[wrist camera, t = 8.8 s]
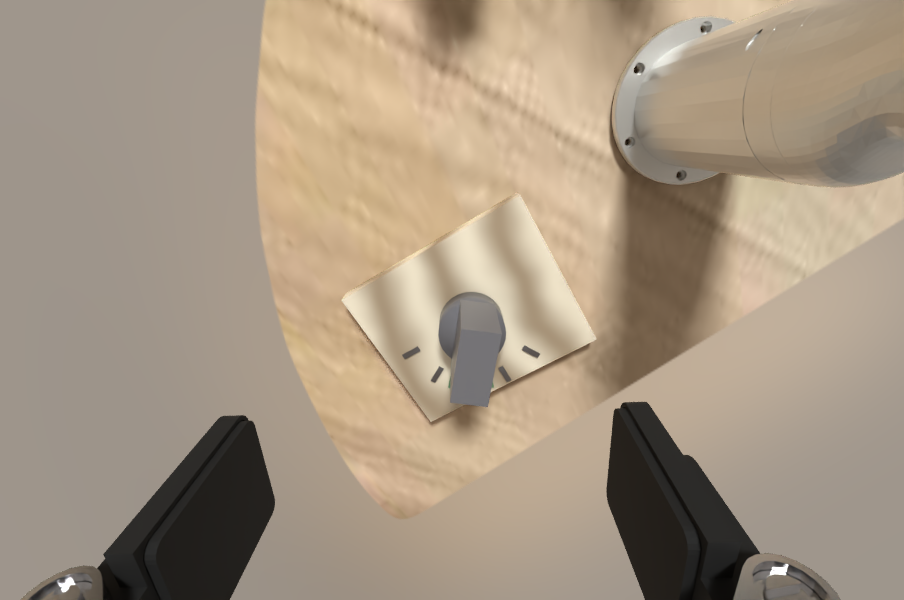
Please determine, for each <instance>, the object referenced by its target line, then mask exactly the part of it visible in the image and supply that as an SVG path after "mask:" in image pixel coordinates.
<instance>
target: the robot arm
mask: <svg viewBox="0 0 904 600" xmlns="http://www.w3.org/2000/svg"><path fill="white" fill-rule="evenodd" d="M701 27H702V28H703V32H701V29H700V28H701ZM634 67H637V68H638V71H637V73H634ZM612 128H613V134H614V138H615V141H616V144H617V146H618V149H619V151H620V153H621V154H622V156H623V157H624V159H625V160H626V162H627V163H628V164H629V165H630V166H631V167H632V168H633V169H634V170H635V171H637V172H638V173H640V174H641V175H643V176H645V177H646V178H649V179H652V180H654V181H657V182H661V183H666V184H674V185H684V184H690V183H697V182H700V181H702V180H705V179H708V178H711V177H713V176H715V175H717V174H718V173H727V174H733V175H740V176H747V177H754V178H760V179H767V180H774V181H780V182H787V183H794V184H804V185H811V186H818V187H833V188H837V187H853V186H860V185H865V184H869V183H873V182H877V181H881V180H884V179H887V178H890V177H893V176H896V175H898V174H901V173H903V172H904V0H792V1H789V2H786V3H784V4H781V5H779V6H776V7H774V8H771V9H769V10H766V11H764V12H761V13H759V14H756V15H754V16H751V17H748V18H746V19H743V20H741V21H738V22H735V21H732V20H730V19H727V18H722V17H715V16H704V17H694V18H691V19H687V20H684V21H680V22H678V23H676V24H674V25H672V26H669V27H667V28H666V29H664V30H663V31H661V32H659V33H658V34H656V35H655V36H653V37H652V38H651V39H650V40H648V41H647V42H646V43H645V44H644V45H643V46H642V47H641V48H640V49H639V50H638V51H637V52H636V54H635V55H634V56H633V57H632V59H631V60H630V61H629V63H628V65H627V66H626V68H625V70H624V72H623V73H622V75H621V77H620V80H619V83H618V85H617V88H616V91H615V95H614V100H613V105H612ZM626 139H628V140H629V143H628V145H625V140H626ZM678 172H679V176H678V177H676V175H677V173H678ZM607 500H608V504H609V507H610V510H611V512H612V515H613V517H614V520H615V522H616V525H617V528H618V530H619V533H620V536H621V538H622V540H623V543H624V546H625V549H626V551H627V554H628V556H629V559H630V562H631V564H632V567H633V569H634V572H635V575H636V577H637V580H638V582H639V585H640V587H641V590H642V593H643V595H644V598H645V600H840V598H839V596H838V594H837V593H836V592H835V591H834V589H833V588H832V587H831V586H830V585H829V584H828V583H827V582H826V581H825V580H824V579H823V578H822V577H820V576H819V575H818V574H817V573H815V572H814V571H813V570H812V569H810V568H808V567H806V566H805V565H803V564H801V563H799V562H797V561H795V560H792V559H790V558H787V557H784V556H782V555H776V554H769V553H764V554H760V553H759V551H758V550H757V548H756V547H755V545H754V544H753V542H752V541H751V540H750V538H749V537H748V535H747V534H746V532H745V531H744V529H743V528H742V527H741V525H740V524H739V522H738V521H737V519H736V518H735V516H734V515H733V514H732V512H731V511H730V509H729V508H728V506H727V505H726V504H725V502H724V501H723V499H722V498H721V496H720V495H719V494H718V492H717V491H716V489H715V488H714V486H713V485H712V484H711V482H710V481H709V479H708V478H707V477H706V475H705V473H704V472H703V471H702V469H701V468H700V466H699V465H698V463H697V462H696V461H695V460H694V459H693V458H692V457H691V456H689V455H683V454H682V453H681V451H680V450H679V449H678V447H677V445H676V444H675V443H674V441H673V440H672V438H671V436H670V435H669V433H668V432H667V430H666V429H665V428H664V426H663V425H662V423H661V422H660V420H659V419H658V417H657V416H656V415H655V413H654V411H653V410H652V408H651V407H650V405H649V404H648V403H647V402H625V403H622V405H621V408H620V409H615V410H614V416H613V426H612V436H611V448H610V458H609V469H608V480H607ZM274 506H275V499H274V494H273V491H272V487H271V483H270V479H269V476H268V472H267V468H266V465H265V461H264V458H263V454H262V450H261V446H260V443H259V439H258V436H257V432H256V428H255V425H254V423H253V422H252V421H249V420H248V418H247V417H246V416H243V415H241V416H222V417H220V418H219V419H218V420H217V421H216V422H215V423H214V424H213V426H212V427H211V428H210V429H209V430H208V432H207V433H206V434H205V435H204V436H203V437H202V439H201V440H200V441H199V442H198V443H197V445H196V446H195V447H194V448H193V449H192V450H191V452H190V453H189V454H188V455H187V456H186V457H185V459H184V460H183V461H182V462H181V463H180V465H179V466H178V467H177V468H176V469H175V470H174V472H173V473H172V474H171V475H170V477H169V478H168V479H167V480H166V481H165V482H164V483H163V485H162V486H161V487H160V488H159V489H158V491H157V492H156V493H155V494H154V495H153V496H152V498H151V499H150V500H149V501H148V502H147V504H146V505H145V506H144V507H143V508H142V509H141V511H140V512H139V513H138V514H137V515H136V517H135V518H134V519H133V520H132V521H131V523H130V524H129V525H128V526H127V527H126V528H125V529H124V531H123V532H122V533H121V534H120V535H119V537H118V538H117V539H116V540H115V541H114V543H113V544H112V545H111V546H110V547H109V548H108V550H107V551H106V552H105V553H104V557H105V560H104V561H103V562H102V563H101V565H100V566H99V567H98V568H95V567H93V566H79V567H74V568H70V569H67V570H65V571H62V572H60V573H57V574H56V575H53V576H52V577H50V578H48V579H46V580H45V581H43V582H41V583H40V584H39V585H37V586H36V587H35V588H33V589H32V590H31V591H29V592H28V593H27V594H26V595H25V596H24V597H23V598H22V599H21V600H230V598H231V596H232V594H233V592H234V590H235V588H236V586H237V584H238V582H239V580H240V578H241V576H242V574H243V572H244V570H245V568H246V566H247V564H248V562H249V560H250V558H251V556H252V554H253V552H254V550H255V548H256V546H257V544H258V542H259V540H260V538H261V536H262V534H263V532H264V530H265V528H266V526H267V523H268V522H269V520H270V518H271V516H272V513H273V511H274Z"/></svg>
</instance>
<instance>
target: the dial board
mask: <svg viewBox="0 0 904 600" xmlns="http://www.w3.org/2000/svg"><path fill="white" fill-rule="evenodd" d="M465 292H478V293H482V294H485V295H487V296H489V297H490V298H492V299H493V300H494V301H495V302H496V303H497V305H498V306H499V308H500V310H501V313H502V316H503V320H504V324H505V328H506V340H505V343H504V346H503V348H502V349H501V351H500V352H499V353H498V357H497V362H496V367H495V372H494V377H493V383H492V388H491V392H492V391H494V390H496V389H498V388H500V387H502V386H504V385H506V384H508V383H510V382H512V381H514V380H516V379H518V378H520V377H522V376H524V375H526V374H528V373H530V372H532V371H534V370H536V369H538V368H540V367H542V366H544V365H546V364H548V363H550V362H552V361H554V360H557V359H559V358H561V357H563V356H565V355H567V354H569V353H571V352H573V351H575V350H577V349H579V348H581V347H583V346H585V345H587V344H589V343H591V342H593V341H595V340H597V339H596V337H595V335H594V333H593V331H592V329H591V328H590V326H589V324H588V322H587V320H586V318H585V316H584V314H583V312H582V311H581V309H580V307H579V305H578V303H577V301H576V299H575V297H574V296H573V294H572V292H571V290H570V288H569V286H568V284H567V282H566V280H565V279H564V277H563V275H562V273H561V271H560V269H559V267H558V265H557V263H556V262H555V260H554V258H553V256H552V254H551V252H550V250H549V248H548V247H547V245H546V243H545V241H544V239H543V237H542V235H541V233H540V231H539V230H538V228H537V226H536V224H535V222H534V220H533V218H532V216H531V215H530V213H529V211H528V209H527V207H526V205H525V203H524V201H523V199H522V198H521V196H520V194H518V193H515V194H513V195H512V196H510V197H508V198H507V199H505V200H503V201H502V202H500V203H498V204H497V205H495V206H493V207H491V208H490V209H488V210H486V211H485V212H483V213H481V214H480V215H478V216H476V217H474V218H473V219H471V220H469V221H468V222H466V223H464V224H463V225H461V226H459V227H458V228H456V229H454V230H452V231H451V232H449V233H447V234H446V235H444V236H442V237H441V238H439V239H437V240H436V241H434V242H432V243H430V244H429V245H427V246H425V247H424V248H422V249H420V250H419V251H417V252H415V253H413V254H412V255H410V256H408V257H407V258H405V259H403V260H402V261H400V262H398V263H397V264H395V265H393V266H391V267H390V268H388V269H386V270H385V271H383V272H381V273H380V274H378V275H376V276H374V277H373V278H371V279H369V280H368V281H366V282H364V283H363V284H361V285H359V286H358V287H356V288H354V289H352V290H351V291H349V292H347V293H346V294H345V296H344V297H343V299H342V302H343V303H344V305H345V306H346V307H347V309H348V310H349V311H350V313H351V314H352V315H353V317H354V318H355V320H356V321H357V322H358V324H359V325H360V326H361V328H362V329H363V330H364V332H365V333H366V335H367V336H368V337H369V339H370V340H371V341H372V343H373V344H374V345H375V347H376V348H377V349H378V351H379V352H380V354H381V355H382V356H383V358H384V359H385V360H386V362H387V363H388V364H389V366H390V367H391V369H392V370H393V371H394V373H395V374H396V375H397V377H398V378H399V379H400V381H401V382H402V384H403V385H404V386H405V388H406V389H407V390H408V392H409V393H410V394H411V396H412V397H413V398H414V400H415V401H416V403H417V404H418V405H419V407H420V408H421V409H422V411H423V412H424V413H425V415H426V416H427V418H428V419H429V420H430V422H432V421H434V420H436V419H438V418H440V417H442V416H444V415H446V414H448V413H450V412H452V411H454V410H456V409H458V408H460V407H462V406H464V405H466V404H457V403H450V377H451V360H452V359H451V358H450V357H449V356H448V355H447V354H446V353H445V352H444V351H443V349H442V347H441V345H440V342H439V336H438V334H439V321H440V314H441V311H442V309H443V307H444V306H445V304H446V303H447V302H448V301H449V300H450V299H451V298H453V297H454V296H456V295H458V294H461V293H465Z"/></svg>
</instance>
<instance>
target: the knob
mask: <svg viewBox="0 0 904 600" xmlns="http://www.w3.org/2000/svg"><path fill="white" fill-rule="evenodd" d="M438 336H439V342H440V345H441V347H442V349H443V351H444V352H445V353H446V354H447V355H448V356H449V357H450V358H451V359H452V360H451V377H450V403H457V404H466V405H474V406H483V407H488V403H489V398H490V393H491V388H492V383H493V377H494V372H495V367H496V362H497V357H498V353H499V352H500V351H501V349H502V348H503V346H504V343H505V340H506V328H505V324H504V320H503V316H502V313H501V310H500V308H499V306H498V305H497V303H496V302H495V301H494V300H493V299H492V298H490V297H489V296H487V295H485V294H482V293H478V292H465V293H461V294H458V295H456V296H454V297H453V298H451V299H450V300H449V301H448V302H447V303H446V304H445V306H444V307H443V309H442V311H441V314H440V321H439V334H438Z"/></svg>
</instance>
